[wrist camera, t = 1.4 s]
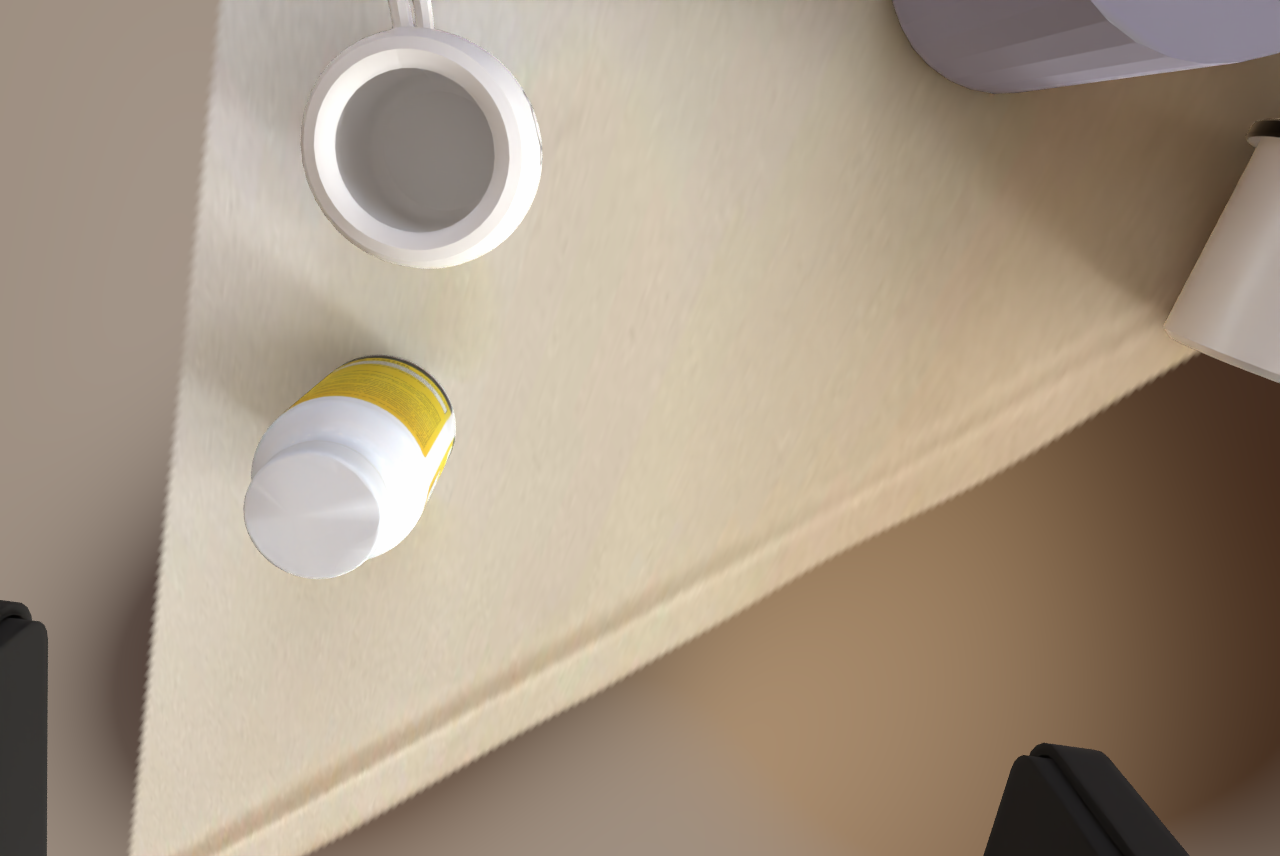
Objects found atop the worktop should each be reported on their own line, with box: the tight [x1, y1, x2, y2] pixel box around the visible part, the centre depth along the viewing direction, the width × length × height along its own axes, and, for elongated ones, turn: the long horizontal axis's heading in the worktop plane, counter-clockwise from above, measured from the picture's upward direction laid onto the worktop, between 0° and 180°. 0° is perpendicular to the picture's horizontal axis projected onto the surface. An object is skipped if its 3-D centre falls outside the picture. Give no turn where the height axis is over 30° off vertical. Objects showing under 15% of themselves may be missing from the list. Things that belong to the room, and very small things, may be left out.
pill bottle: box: [244, 355, 456, 579], centre depth 38 cm, size 6×6×12 cm
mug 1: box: [301, 0, 543, 269], centre depth 36 cm, size 12×8×8 cm
